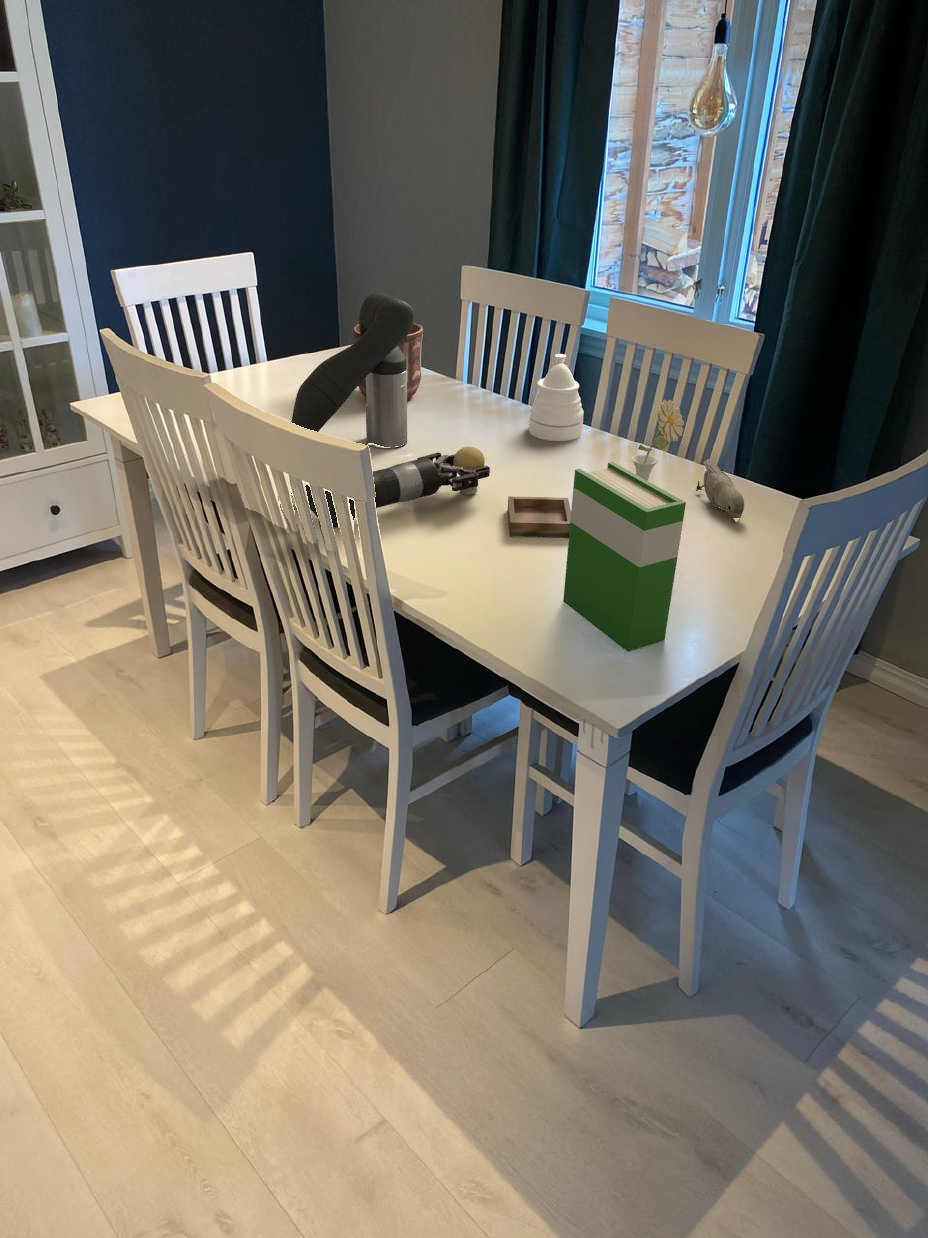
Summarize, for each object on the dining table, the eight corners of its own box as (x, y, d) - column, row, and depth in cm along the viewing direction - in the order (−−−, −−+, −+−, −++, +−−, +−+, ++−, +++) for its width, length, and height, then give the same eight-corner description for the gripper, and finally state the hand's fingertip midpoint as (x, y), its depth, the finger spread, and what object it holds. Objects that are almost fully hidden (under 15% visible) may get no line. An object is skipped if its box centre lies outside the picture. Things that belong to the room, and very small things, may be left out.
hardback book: (563, 601, 164) (574, 469, 152) (598, 591, 167) (612, 461, 155) (627, 651, 151) (646, 512, 139) (664, 640, 154) (686, 502, 142)
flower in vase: (629, 542, 184) (645, 415, 171) (596, 518, 193) (608, 396, 180) (684, 529, 189) (703, 405, 176) (649, 507, 198) (665, 387, 185)
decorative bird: (724, 525, 192) (731, 490, 188) (690, 492, 205) (695, 459, 201) (749, 523, 193) (756, 488, 189) (713, 490, 206) (719, 457, 202)
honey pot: (528, 421, 240) (532, 349, 231) (580, 423, 240) (586, 350, 231) (529, 440, 229) (534, 364, 220) (583, 442, 229) (590, 366, 220)
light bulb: (488, 490, 203) (490, 445, 198) (475, 501, 198) (477, 455, 193) (460, 484, 206) (461, 439, 200) (447, 495, 201) (448, 449, 195)
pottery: (420, 408, 246) (421, 337, 237) (352, 406, 246) (349, 335, 237) (424, 387, 261) (424, 319, 252) (359, 385, 261) (357, 317, 252)
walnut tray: (509, 536, 185) (510, 522, 183) (507, 509, 195) (508, 496, 194) (572, 538, 185) (573, 523, 183) (567, 511, 195) (568, 497, 194)
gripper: (391, 486, 198) (456, 469, 207) (430, 510, 189) (496, 492, 197) (391, 451, 195) (457, 436, 203) (430, 475, 185) (498, 457, 193)
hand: (476, 464), depth 200 cm, fingers open, 8 cm apart
